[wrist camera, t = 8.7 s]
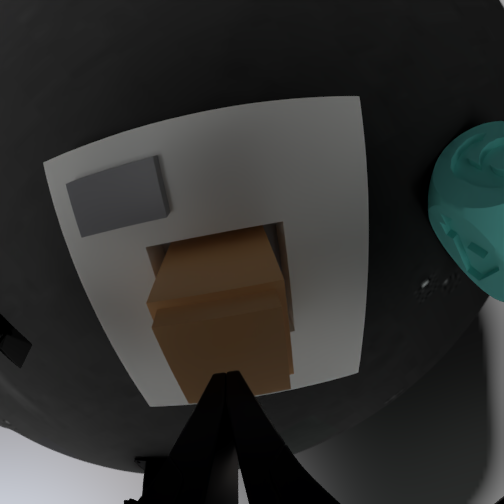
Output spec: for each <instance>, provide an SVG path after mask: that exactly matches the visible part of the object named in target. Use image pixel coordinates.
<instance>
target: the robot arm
mask: <svg viewBox="0 0 504 504" xmlns="http://www.w3.org/2000/svg"><path fill="white" fill-rule="evenodd" d="M169 455H170V456H168V457H167V459H150V458H135V462H136V463H137V464H138V465H139V466H140V467H141V468H142V469H144V470H145V471H144V480H143V492H142V496H141V498H140V499H139V500H138V501H136V500H134V499H129V500H124V504H238V461H239V465H240V469H241V473H242V477H243V481H244V485H245V489H246V493H247V497H248V501H249V504H340V503H339V502H338V501H337V500H336V499H335V498H333V497H332V496H331V495H330V494H329V493H328V492H327V491H326V490H325V489H324V488H323V487H322V486H321V485H320V484H319V483H318V482H316V480H314V478H312V476H311V475H310V474H309V473H308V472H307V471H306V470H305V469H304V468H303V467H302V466H301V464H300V463H299V462H298V460H297V459H296V458H295V456H294V455H293V454H292V452H291V451H290V449H289V448H288V446H287V445H285V442H284V441H283V439H282V438H281V436H280V435H279V433H278V432H277V430H276V429H275V427H274V426H273V424H272V423H271V421H270V420H269V418H268V416H267V415H266V413H265V412H264V410H263V409H262V407H261V405H260V404H259V402H258V401H257V399H256V397H255V396H254V394H253V393H252V391H251V389H250V388H249V386H248V384H247V383H246V381H245V379H244V378H243V376H242V374H241V373H240V371H239V370H235V371H229V372H227V373H225V372H221V373H215V374H213V375H212V377H211V379H210V381H209V383H208V384H207V386H206V388H205V390H204V392H203V394H202V396H201V398H200V399H199V401H198V403H197V405H196V407H195V409H194V410H193V412H192V414H191V416H190V418H189V420H188V422H187V423H186V425H185V427H184V429H183V431H182V432H181V434H180V436H179V438H178V440H177V442H176V443H175V445H174V447H173V449H172V451H171V452H170V454H169ZM495 504H504V497H502V498H501V499H500V500H499V501H497V502H496V503H495Z"/></svg>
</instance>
